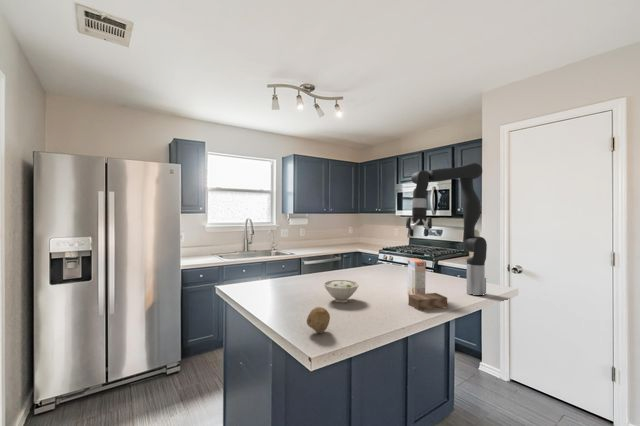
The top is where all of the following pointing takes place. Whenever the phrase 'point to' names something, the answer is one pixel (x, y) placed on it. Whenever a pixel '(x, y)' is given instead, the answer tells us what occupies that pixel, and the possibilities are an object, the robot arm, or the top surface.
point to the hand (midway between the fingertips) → (418, 236)
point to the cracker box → (416, 276)
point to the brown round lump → (318, 319)
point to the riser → (427, 301)
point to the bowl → (341, 289)
